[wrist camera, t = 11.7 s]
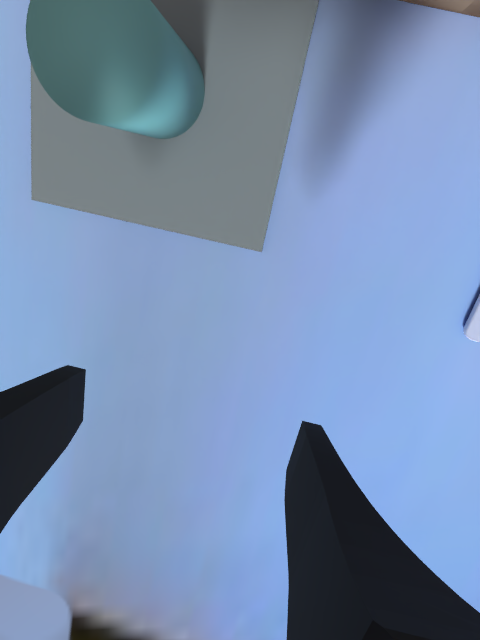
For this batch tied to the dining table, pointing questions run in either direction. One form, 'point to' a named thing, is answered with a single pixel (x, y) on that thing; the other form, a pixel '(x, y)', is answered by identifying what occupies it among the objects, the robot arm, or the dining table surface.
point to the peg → (115, 65)
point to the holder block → (452, 5)
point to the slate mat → (190, 130)
